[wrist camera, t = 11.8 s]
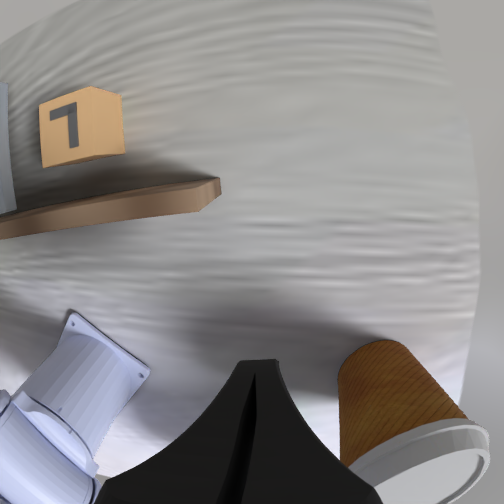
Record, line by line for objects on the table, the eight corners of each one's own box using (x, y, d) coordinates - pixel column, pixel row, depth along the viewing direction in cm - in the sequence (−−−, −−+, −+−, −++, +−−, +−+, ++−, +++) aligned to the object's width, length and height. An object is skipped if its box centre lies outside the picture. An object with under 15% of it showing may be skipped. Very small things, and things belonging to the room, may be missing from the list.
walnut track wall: (219, 177, 19) (195, 188, 13) (221, 194, 19) (198, 211, 13) (-2, 217, 21) (-52, 236, 15) (0, 228, 21) (-49, 249, 15)
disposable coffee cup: (331, 425, 24) (347, 542, 13) (302, 345, 22) (318, 489, 11) (431, 390, 23) (482, 492, 11) (424, 302, 20) (512, 411, 9)
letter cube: (121, 95, 18) (89, 85, 14) (125, 153, 19) (93, 155, 15) (73, 109, 18) (37, 104, 14) (77, 163, 19) (41, 168, 15)
